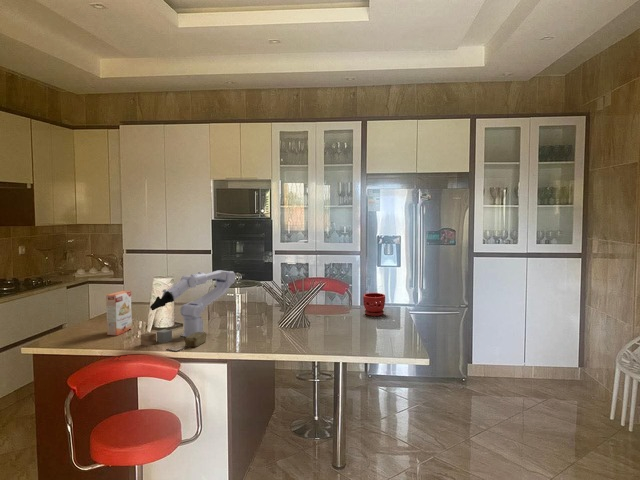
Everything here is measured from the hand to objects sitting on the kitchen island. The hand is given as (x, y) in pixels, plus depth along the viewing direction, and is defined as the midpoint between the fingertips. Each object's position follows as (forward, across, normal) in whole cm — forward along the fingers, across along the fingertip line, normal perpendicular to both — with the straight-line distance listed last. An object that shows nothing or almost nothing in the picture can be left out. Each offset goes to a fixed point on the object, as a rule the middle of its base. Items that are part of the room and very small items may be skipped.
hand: (154, 306), depth 235 cm
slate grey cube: (+1, -10, +17) cm, 20 cm away
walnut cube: (+8, -10, +13) cm, 19 cm away
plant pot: (-97, +24, +80) cm, 128 cm away
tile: (+7, +6, +21) cm, 23 cm away
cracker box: (+3, -40, +3) cm, 41 cm away
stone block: (-3, +5, +26) cm, 26 cm away
